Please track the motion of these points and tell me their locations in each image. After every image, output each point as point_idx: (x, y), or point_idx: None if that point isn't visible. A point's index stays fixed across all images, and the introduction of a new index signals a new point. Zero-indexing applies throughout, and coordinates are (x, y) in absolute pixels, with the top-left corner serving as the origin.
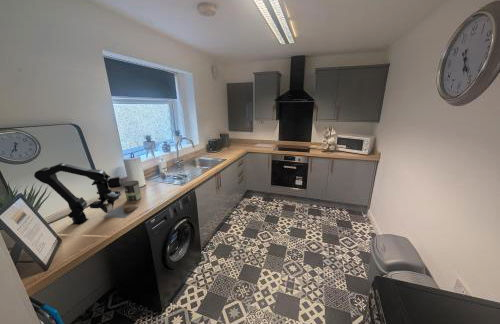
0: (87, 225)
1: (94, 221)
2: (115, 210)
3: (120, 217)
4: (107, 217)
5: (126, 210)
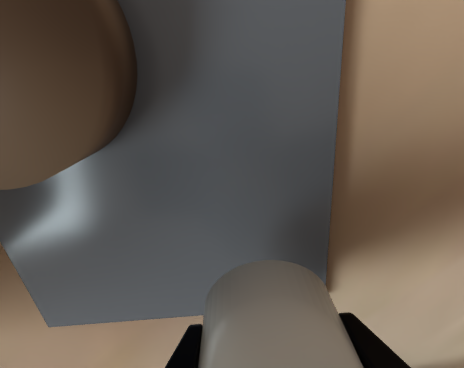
0: (459, 324)
1: (385, 321)
2: (142, 286)
3: (330, 4)
4: (326, 247)
5: (107, 19)
